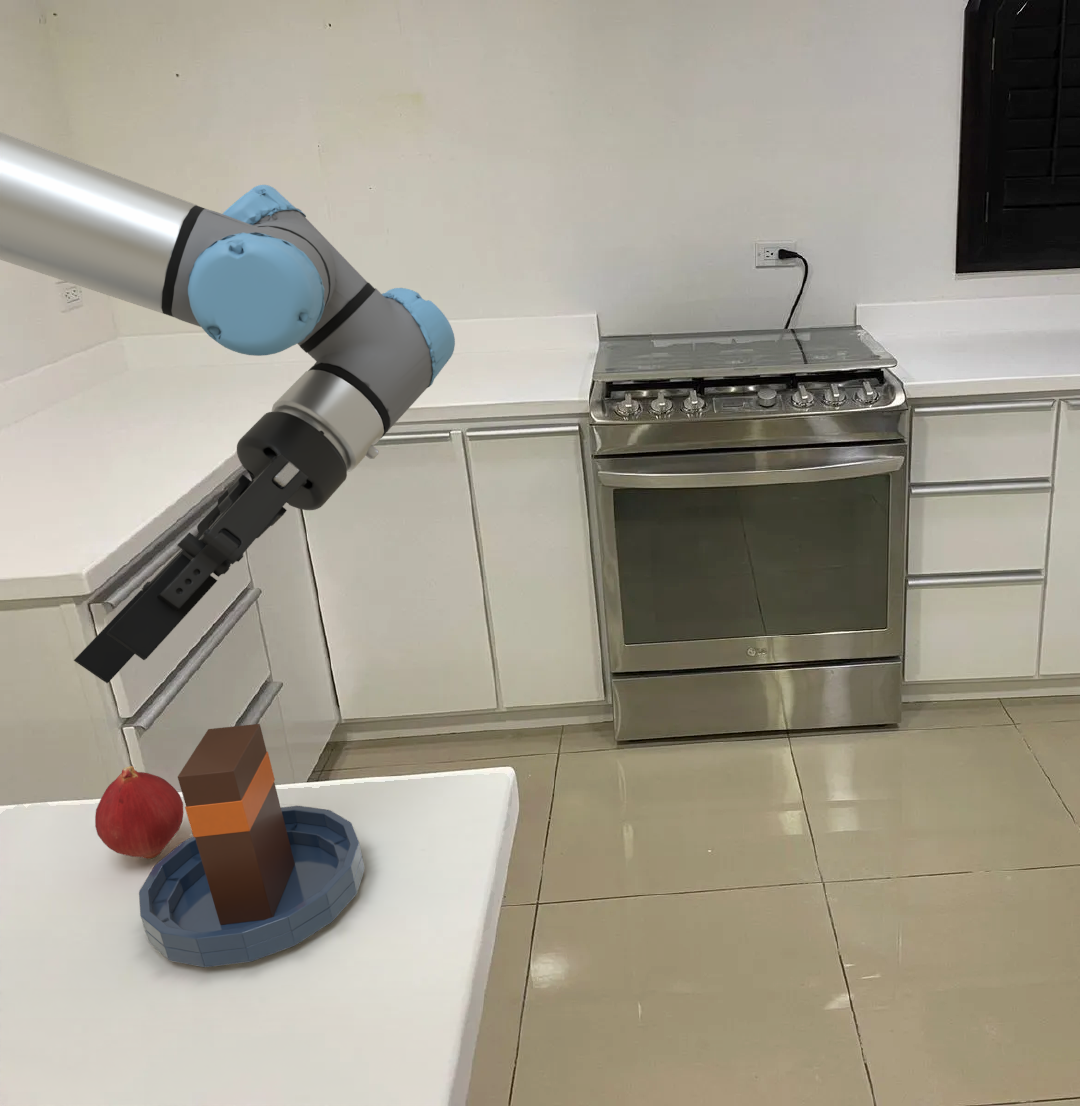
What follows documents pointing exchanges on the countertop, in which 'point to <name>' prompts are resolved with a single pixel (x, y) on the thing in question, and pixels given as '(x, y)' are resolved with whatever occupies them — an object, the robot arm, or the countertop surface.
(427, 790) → the countertop surface
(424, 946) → the countertop surface
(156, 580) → the robot arm
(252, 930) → the bowl
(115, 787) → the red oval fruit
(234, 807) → the snack carton
